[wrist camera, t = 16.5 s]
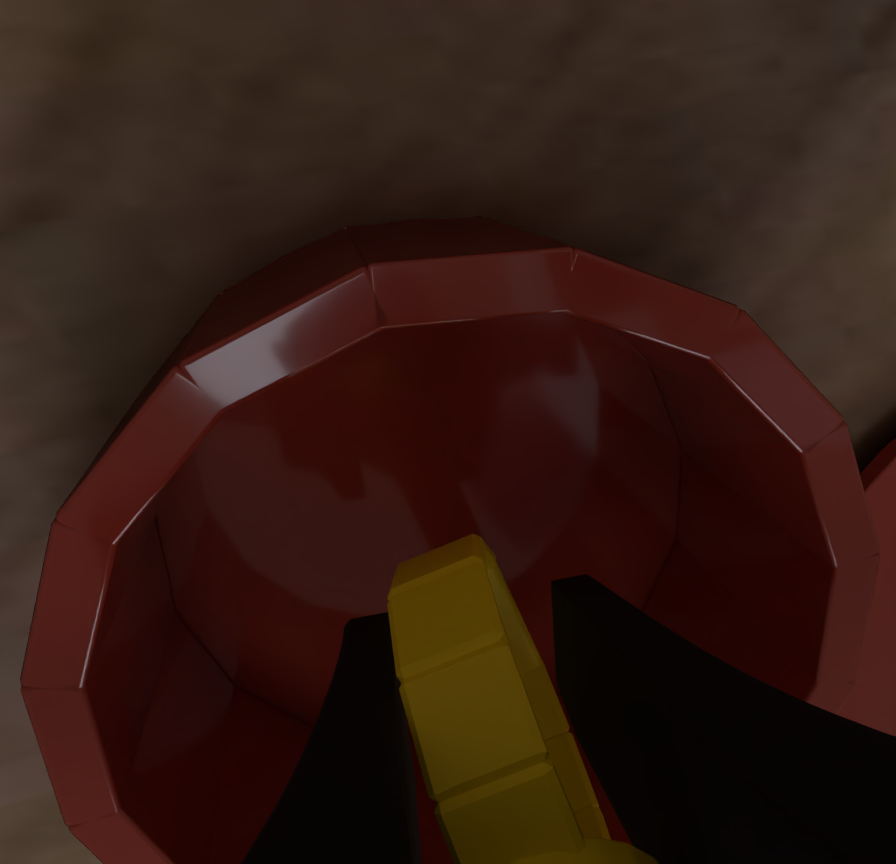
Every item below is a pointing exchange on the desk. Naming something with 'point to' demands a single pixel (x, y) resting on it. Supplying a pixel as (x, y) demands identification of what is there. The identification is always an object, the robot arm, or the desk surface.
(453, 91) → the desk surface
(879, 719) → the lid
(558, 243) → the pot
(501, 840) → the watch
